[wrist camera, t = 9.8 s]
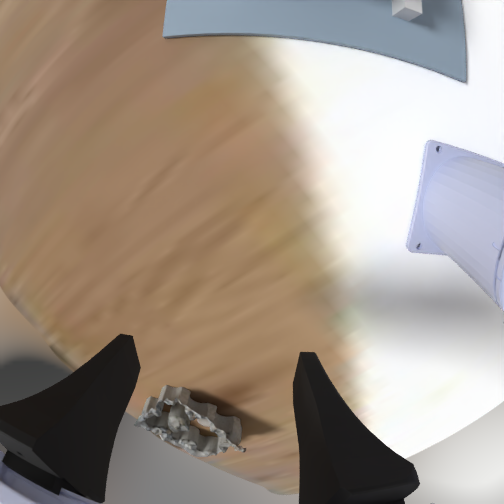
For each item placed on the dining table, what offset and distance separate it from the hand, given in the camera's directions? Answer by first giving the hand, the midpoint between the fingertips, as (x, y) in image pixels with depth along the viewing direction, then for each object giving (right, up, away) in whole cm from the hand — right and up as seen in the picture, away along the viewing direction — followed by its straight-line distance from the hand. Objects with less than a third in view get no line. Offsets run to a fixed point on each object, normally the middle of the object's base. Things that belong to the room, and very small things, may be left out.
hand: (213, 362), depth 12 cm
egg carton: (-5, -13, +17) cm, 22 cm away
